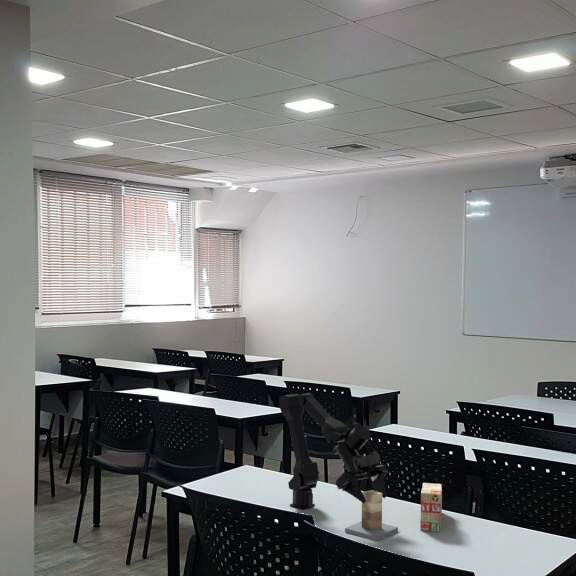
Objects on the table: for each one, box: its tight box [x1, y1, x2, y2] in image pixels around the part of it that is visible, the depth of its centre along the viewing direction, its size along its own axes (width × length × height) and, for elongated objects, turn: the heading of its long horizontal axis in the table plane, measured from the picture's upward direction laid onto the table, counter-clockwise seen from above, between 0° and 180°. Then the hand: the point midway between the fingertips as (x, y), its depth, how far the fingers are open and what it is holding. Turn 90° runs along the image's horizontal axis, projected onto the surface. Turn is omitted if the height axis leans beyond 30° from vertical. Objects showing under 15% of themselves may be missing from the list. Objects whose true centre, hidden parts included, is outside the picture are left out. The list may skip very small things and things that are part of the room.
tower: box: [361, 489, 383, 531], centre depth 227 cm, size 4×4×11 cm
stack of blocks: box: [419, 482, 443, 533], centre depth 238 cm, size 21×6×12 cm, turn 167°
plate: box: [344, 520, 399, 541], centre depth 227 cm, size 12×12×1 cm
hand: (375, 499), depth 226 cm, fingers open, 9 cm apart
